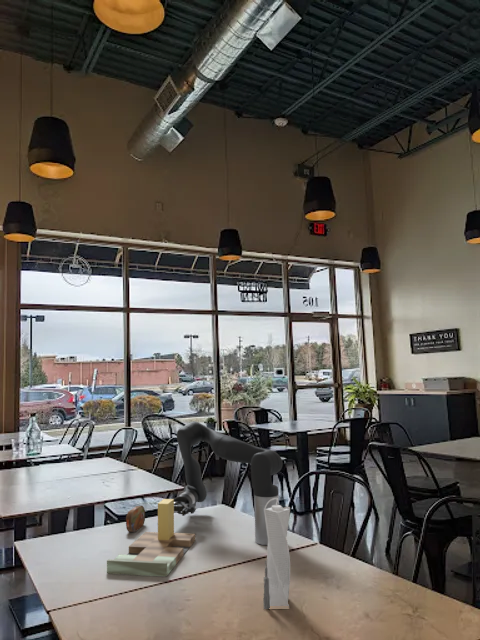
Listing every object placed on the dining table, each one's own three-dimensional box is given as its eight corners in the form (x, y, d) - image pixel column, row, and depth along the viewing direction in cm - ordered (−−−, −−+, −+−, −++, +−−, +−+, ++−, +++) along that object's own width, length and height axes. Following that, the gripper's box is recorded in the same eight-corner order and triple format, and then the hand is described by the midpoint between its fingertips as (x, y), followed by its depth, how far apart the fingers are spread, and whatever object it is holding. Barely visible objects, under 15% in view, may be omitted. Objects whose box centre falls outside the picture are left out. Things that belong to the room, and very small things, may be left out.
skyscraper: (263, 597, 149) (261, 496, 152) (291, 597, 149) (288, 496, 152) (263, 610, 141) (261, 504, 144) (293, 610, 141) (290, 504, 143)
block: (164, 533, 200) (163, 498, 202) (174, 534, 200) (173, 499, 201) (157, 539, 193) (157, 503, 195) (168, 540, 193) (168, 503, 194)
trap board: (145, 538, 203) (145, 527, 203) (195, 540, 199) (195, 529, 200) (106, 573, 168) (106, 560, 169) (166, 576, 165) (166, 563, 165)
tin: (131, 534, 208) (131, 513, 209) (124, 534, 209) (124, 512, 210) (146, 523, 223) (145, 503, 224) (139, 523, 223) (139, 503, 224)
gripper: (200, 512, 220) (189, 523, 204) (168, 511, 223) (155, 522, 207) (200, 494, 221) (189, 503, 205) (168, 493, 224) (155, 502, 208)
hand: (172, 512), depth 206 cm, fingers open, 8 cm apart
